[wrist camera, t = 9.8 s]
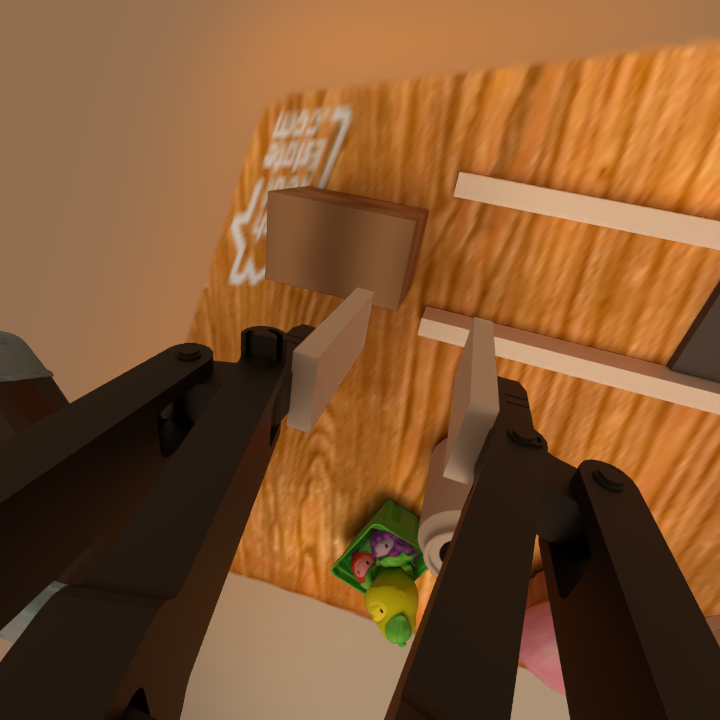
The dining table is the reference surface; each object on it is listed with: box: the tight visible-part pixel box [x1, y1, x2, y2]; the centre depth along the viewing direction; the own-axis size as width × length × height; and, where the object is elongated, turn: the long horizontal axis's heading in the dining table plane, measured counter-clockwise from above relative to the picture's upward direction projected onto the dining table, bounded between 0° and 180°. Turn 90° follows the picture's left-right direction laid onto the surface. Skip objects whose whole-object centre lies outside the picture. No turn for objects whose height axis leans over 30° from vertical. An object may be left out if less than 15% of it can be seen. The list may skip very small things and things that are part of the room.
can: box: [418, 438, 474, 577], centre depth 34 cm, size 8×8×12 cm
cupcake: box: [519, 571, 566, 695], centre depth 39 cm, size 9×9×10 cm
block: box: [265, 186, 429, 311], centre depth 29 cm, size 10×6×7 cm, turn 81°
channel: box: [417, 171, 720, 415], centre depth 28 cm, size 24×12×3 cm, turn 81°
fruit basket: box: [331, 500, 428, 647], centre depth 42 cm, size 11×9×11 cm
